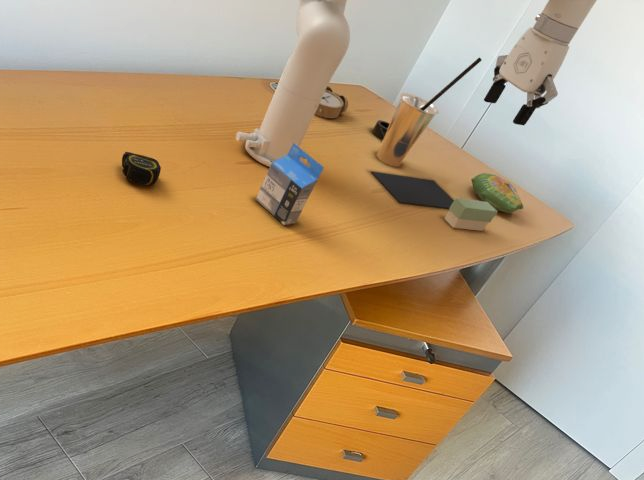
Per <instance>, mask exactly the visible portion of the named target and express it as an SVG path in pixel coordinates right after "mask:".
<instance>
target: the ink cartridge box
mask: <svg viewBox="0 0 644 480" xmlns="http://www.w3.org/2000/svg"><path fill="white" fill-rule="evenodd" d="M301 158H302V159H303V160H306V162H307V163H308V164H309V166H308V165H307V164H306V163H305V162H303V161H302V160H301ZM324 169H325V167H324V166H323V165H322V164H321V163H319V162H318V161H317V160H316V159H314V158H313V157H312V156H311V155H310V154H308V153H307V152H306V151H304V149H302V148H301V147H298V146H297V145H296V144H295V143H293V145H292V147H291V149H290V151H289V153H288V154H287V155H285V156H284V157H282V158H280V159H278V160H276V161H274V162H273V163H271V166H270V167H268V170H267V172H266V175H265V178H264V179H263V182H262V184H261V186H260V188H259V191H258V193H257V195H256V198H255V201H256V202H258V204H260V206H262V207H263V208H264V209H265V210H266V211H267V212H269V213H270V214H271V215H272V216H273V217H274V218H275V219H277V220H278V221H279V222H280V223H281V224H282V225H283V226H289V225H295V224H296V223H297V221H298V220H299V218H300V216H301V213H302V212H303V210H304V208H305V206H306V204H307V202H308V200H309V198H310V197H311V194H312V192H313V190H314V188H315V186H316V184H317V182H318V180H319V178H320V176H321V175H322V172H323V170H324Z"/></svg>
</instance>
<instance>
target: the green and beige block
mask: <svg viewBox="0 0 644 480" xmlns="http://www.w3.org/2000/svg"><path fill="white" fill-rule="evenodd" d="M453 200H454V202H453V203H452V205H451V206H450V208H449V209H448V212H447V213H446V215H445V216H444V220H445V221H446V222H447V223H448V225H450V226H451V227H452V228H453V229H461V230H472V231H478V232H483V231H484V230H485V228H486V227H487V225H488V224H489V223H492V221H493V219H494V218H495V217H496V215H497V214H498V211H499V210H497V209H495V208H493V207H492V206H491V205H490V204H489V203H488V202H484V201H483V200H476V199H469V198H461V197H455V199H453Z"/></svg>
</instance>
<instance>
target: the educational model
mask: <svg viewBox="0 0 644 480" xmlns="http://www.w3.org/2000/svg"><path fill="white" fill-rule="evenodd" d="M471 185H472V189H473V191H474V193H475V194H476V195H477V197H479V199H481V201H484V202H488V203H489V204H490V205H491V206H492V207H493V208H494V209H495V210H497V211H500V212H503V213H508V214H511V213H515V212H516V211H518V210H523V209H524V204H523V201H522V199H521V197H520V196H519V194H518V191H517V189H516V188H515V186H514V185H513V184H512V183H511V182H509V181H508V180H506V179H505V178H503V177H500V176H499V175H496V174H492V173H487V172H484V173H479V174H477V175H475V176H474V177H473V178H471Z"/></svg>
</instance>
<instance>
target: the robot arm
mask: <svg viewBox="0 0 644 480" xmlns="http://www.w3.org/2000/svg"><path fill="white" fill-rule="evenodd" d="M347 1H348V0H299V1H298V2H299V3H298V7H297V15H296V22H295V26H296V32H297V36H298V40H297V42H296V45H295V46H294V49H293V51H292V52H291V55H290V56H289V58H288V60H287V62H286V64H285V66H284V69H283V70H282V74H281V76H280V78H279V80H278V81H279V82H278V84H277V86H276V89H275V91H274V94H273V95H272V99H271V101H270V103H269V105H268V108H267V110H266V113H265V115H264V117H263V119H262V122H261V124H260V127H259V128H254V130H253V132H249V133H247V132H244V131H237V132H236V134H235V140H236V142H240V143H241V142H242V143H245V146H244V148H245V150H246V152H247V154H248V155H249V156H250V157H251V158H253V159H254V160H255V161H257V162H259V163H260V164H262V165H264V166H266V167H268V168H270V166H271V163H273V162H274V161H276V160H278V159H280V158H282V157H284V156H285V155H287V154H288V153H289V151H290V149H291V147H292V145H293V143H295V144H296V145H297V146H298V147H299V148H301V145H302V142H303V140H304V138H305V136H306V134H307V132H308V129H309V128H310V126H311V123H312V121H313V119H314V117H315V112H316V110H317V108H318V106H319V104H320V101H321V99H322V97H323V95H324V92H325V90H326V88H327V86H329V84H330V82H331V80H332V79H333V76H334V75H335V73H336V71H337V69H338V68H339V66H340V65H341V63H342V61H343V59H344V58H345V56H346V54H347V51H348V48H349V45H350V40H351V29H350V25H349V23H348V20H347V18H346V16H345V10H346V5H347ZM597 1H598V0H547V3H546V4H545V6H544V7H543V10H542V11H541V13H538V14H537V15H536V16H535V18H534V19H535V23H534V25H533V27H528V28H527V29H526V30H525V31H524V33H523V34H522V35H521V36H520V37H519V39H518V40H517V41H516V43H515V44H514V46H513V47H512V49H511V50H510V51H509V53H508V54H504V55H503V54H502V55H498V56H497V58H496V63H495V67H494V69H493V77H492V82H493V83H492V85H491V86H490V88H489V90H488V91H487V93H486V95H485V97H484V98H483V101H484V102H485V103H490V104H496V103H497V102H498V100H499V99H500V97H501V95H502V93H503V92H504V91H505V89H506V86H507V85H506V84H507V83H509V84H510V85H512V86H514V87H515V88H516V89H518V90H519V91H521V92H523V93H526V103H523V104H522V105H521V107H520V108H519V111H518V112H517V113H516V115H515V116H514V118H513V120H512V123H513V124H514V125H519V126H525V125H526V124H527V122H528V121H529V120H530V118H531V117H532V115H533V114H534V112H535V111H536V109H540V108H541V107H542V106H543V107H544V106H546V105H548V104H549V102H551V101H553V100H554V99H555V98H556V97H557V96H558V93H559V92H558V90H557V87H556V84H555V82H554V80H555V77H556V76H557V75H558V72H559V71H560V69H561V67H562V65H563V63H564V62H565V59H566V56H567V54H568V52H569V49H570V46H569V45H570V43H571V41H572V40H573V38H574V37H575V35H576V34H577V32H578V30H580V29H579V28H580V27H581V26H582V25H583V23H584V21H585V19H586V17H587V16H588V15H589V13H590V12H591V9H592V8H593V7H594V5H595V4H596V2H597ZM542 95H543V96H542Z"/></svg>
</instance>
